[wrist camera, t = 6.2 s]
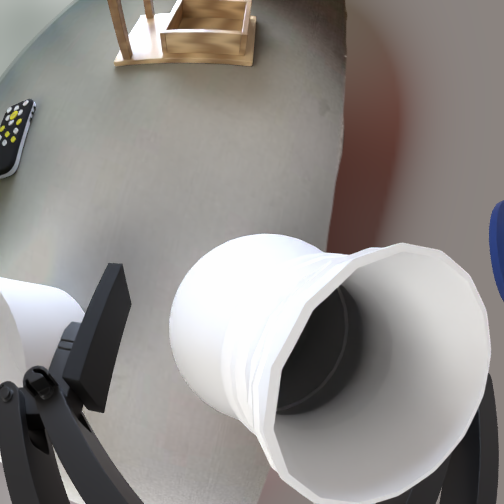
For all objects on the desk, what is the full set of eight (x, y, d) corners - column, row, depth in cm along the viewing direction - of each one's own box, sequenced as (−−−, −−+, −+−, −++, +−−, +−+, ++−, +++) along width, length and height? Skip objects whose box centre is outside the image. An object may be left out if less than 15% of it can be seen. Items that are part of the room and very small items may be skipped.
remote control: (-10, 184, 25) (-18, 178, 23) (11, 113, 27) (6, 106, 25) (18, 174, 26) (10, 168, 24) (39, 101, 28) (33, 94, 26)
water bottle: (260, 360, 26) (449, 548, 2) (188, 338, 26) (30, 522, 1) (282, 290, 28) (545, 209, 3) (211, 267, 27) (192, 19, 3)
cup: (8, 295, 23) (-62, 285, 12) (82, 277, 25) (12, 257, 13) (29, 392, 21) (-34, 418, 10) (108, 388, 23) (50, 430, 12)
